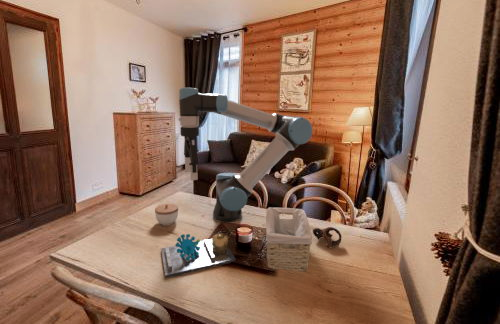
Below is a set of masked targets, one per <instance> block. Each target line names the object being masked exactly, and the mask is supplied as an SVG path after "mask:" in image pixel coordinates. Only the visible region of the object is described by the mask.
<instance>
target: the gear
mask: <svg viewBox="0 0 500 324" xmlns="http://www.w3.org/2000/svg"><path fill="white" fill-rule="evenodd" d="M185 237H186V238H185ZM190 237H191V238H190ZM194 240H195V241H194ZM176 241H177V242H176V243H175V245H174V246H176V247H180V248H181V249H179V248H178V249H177V253H179V252H180V253H181V255H180V256H181V258H183V257H184V256H185V255H186V254H187V255H188V256H187V257H186V260H190V254H191V255H192V257H191V259H195V256H197V255H199V253H198V252H197V251H199V250H200V247H197V245H198V244H199V242H200V241H201V239H197V240H196V237H195V236H194V235H193V236H191V234H189V233H187V234H184V233H183V234H181V235H180V236H179V237H178V238H176ZM195 248H196V249H195ZM196 250H197V251H196ZM183 252H184V254H182V253H183ZM194 252H195V256H194Z"/></svg>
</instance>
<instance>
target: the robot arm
mask: <svg viewBox="0 0 500 324" xmlns="http://www.w3.org/2000/svg"><path fill="white" fill-rule="evenodd" d="M178 92H179V95H178V96H179V100H178V102H179V103H178V104H179V116H180V117H179V118H178V121H180V126H181V127H180V129H179V130H180V135H181V137H184V148H183V149H184V151H183V155H184V164H185V165H184V166H185V167H184V168H185V171H184V172H185V173H187V172H189V173H190V181H197V180H198V179H199V178H198V175H199V174H198V165H199V163H200V162H199V158H198V157H199V156H198V149H197V148H198V147H197V139H195V137H199V136H200V128H199V127H198V126H199V125H200V124H199V123H200V116H199V114H200V113H214V114H218V115H221V116H225V117H228V118H231V119H234V120H237V121H241V122H244V123H246V124H250V125H253V126H257V127H259V128H263V129H266V130H267V131H268V132H270V133H272V134H275V137H274V139H272V141H271V142H269V144H268V145H266V146H265V148H264V149H263V150H262V151H261V152H260V153H259V154H258V155H257V156H256V157H255V158H254V159H253V160H252V161H251V162H250V163H249V164H248V165H247V166H246V167H245V168H244V169H243V170H242V171H241V172H240V173H236V172H221V173H218V174H216V177H215V183H216V184H215V186H216V187H215V189H216V196H215V197H216V199H215V200H216V202H215V205H214V208H213V211H212V217H213V219H214V220H216V221H219V222H223V223H232V222H236V221H238V220H240V219H241V218H242V217H243V211H242V209H243V208H245V206H246V204H247V203H248V198H249V197H250V196H251V195H252V194H253V189H254V187H255V186H256V184H258V183H259V182H260V181H261V180H262V179H263V177H265V176H266V174H267V173H268V172H270V170H271V169H273V167H274V166H276V164H278V162H279V161H281V160H282V158H284V156H285V155H286V154H287V153H288V152H289V151H295V149H297V148H298V147H299V146H300V145H303V144H306V143H308V142H309V141H310V139H311V138H312V136H313V126H312V123H311V121H309V120H308V119H307V118H305V117H303V116H295V115H294V116H293V115H285V114H279V113H275V112H274V113H269V112H266V111H263V110H260V109H257V108H253V107H251V106H247V105H246V104H245V105H244V104H242V103H238V102H235V101H232V100H229V99H228V96H227V94H222V93H200V92H199V89H198V88H196V87H181V88H180V89H179V91H178Z"/></svg>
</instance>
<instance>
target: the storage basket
mask: <svg viewBox="0 0 500 324" xmlns="http://www.w3.org/2000/svg"><path fill="white" fill-rule="evenodd" d="M280 215H289V216H290V215H292V218H280ZM265 223H266V224H265V233H266V235H265V236H266V237H265V238H266V262H267V267H268V268H269V269H270V268H273V269H272V270H283V271H294V272H295V271H298V272H306V271H308V266H309V259H310V258H309V257H310V253H311V251H310V250H311V245H312V244H313V233H312V230H311V226H310V223H309V219H308V216H307V214H306V212H305V210H304V209H303V208H293V207H292V208H290V207H268V208H266V221H265Z"/></svg>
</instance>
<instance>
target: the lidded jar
mask: <svg viewBox="0 0 500 324" xmlns="http://www.w3.org/2000/svg"><path fill="white" fill-rule="evenodd" d="M154 213H155V214H154V215H155V219H156V220H157V222H158V223H159V224H161V225H162V226H170V225H173V224H174V223H175V222H176V220H177V218H178V215H179V206H178V205H177V204H175V203H163V204H160V205H158V206H156V207H155V208H154Z"/></svg>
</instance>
